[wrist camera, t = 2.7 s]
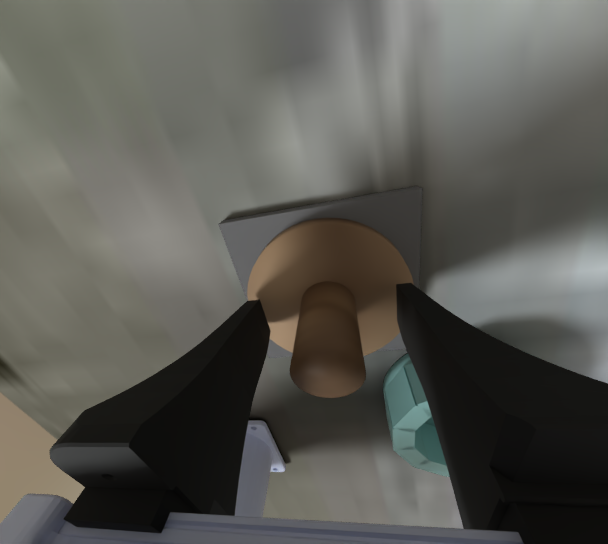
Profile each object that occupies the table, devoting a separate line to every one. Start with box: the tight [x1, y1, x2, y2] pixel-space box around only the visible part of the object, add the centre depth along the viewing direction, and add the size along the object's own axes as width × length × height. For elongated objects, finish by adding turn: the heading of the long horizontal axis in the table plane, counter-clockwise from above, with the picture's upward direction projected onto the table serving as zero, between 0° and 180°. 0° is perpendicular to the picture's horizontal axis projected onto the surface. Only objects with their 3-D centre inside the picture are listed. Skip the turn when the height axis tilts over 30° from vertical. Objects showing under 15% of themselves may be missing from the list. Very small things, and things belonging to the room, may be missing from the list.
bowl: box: [383, 353, 450, 477], centre depth 15 cm, size 9×9×3 cm
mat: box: [219, 186, 423, 358], centre depth 13 cm, size 9×9×1 cm
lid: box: [247, 218, 414, 398], centre depth 10 cm, size 8×8×5 cm
